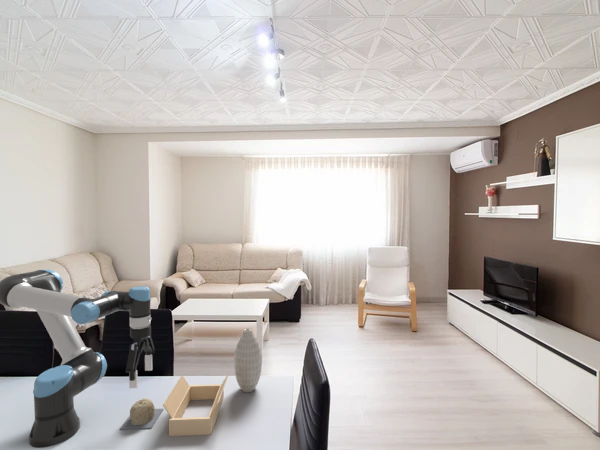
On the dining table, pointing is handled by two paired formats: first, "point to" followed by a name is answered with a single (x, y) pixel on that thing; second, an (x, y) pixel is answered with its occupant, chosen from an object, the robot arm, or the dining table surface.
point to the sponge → (142, 412)
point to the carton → (180, 401)
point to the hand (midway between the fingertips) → (141, 378)
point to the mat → (148, 425)
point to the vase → (247, 361)
